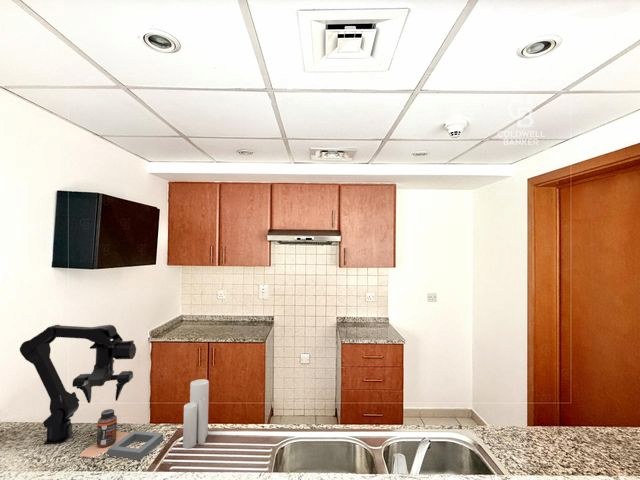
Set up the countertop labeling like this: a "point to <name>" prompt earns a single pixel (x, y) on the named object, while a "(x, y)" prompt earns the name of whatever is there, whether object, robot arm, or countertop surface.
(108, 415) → the supplement bottle
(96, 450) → the terracotta mat
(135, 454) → the filter housing collar
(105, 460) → the countertop surface
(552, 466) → the countertop surface
